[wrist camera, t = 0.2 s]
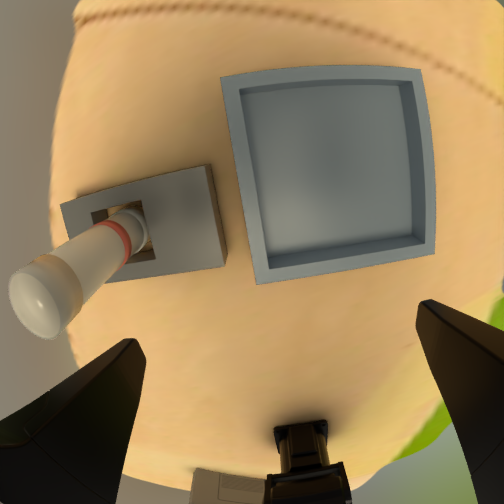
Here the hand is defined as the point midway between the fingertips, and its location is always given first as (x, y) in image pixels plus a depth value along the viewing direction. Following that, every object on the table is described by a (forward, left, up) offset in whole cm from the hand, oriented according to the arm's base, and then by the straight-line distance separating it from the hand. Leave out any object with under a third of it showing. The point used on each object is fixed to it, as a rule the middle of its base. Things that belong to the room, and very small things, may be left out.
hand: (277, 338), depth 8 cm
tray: (+3, -6, -14) cm, 16 cm away
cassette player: (-40, +9, -15) cm, 44 cm away
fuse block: (+1, +9, -14) cm, 17 cm away
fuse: (+1, +10, -14) cm, 18 cm away
